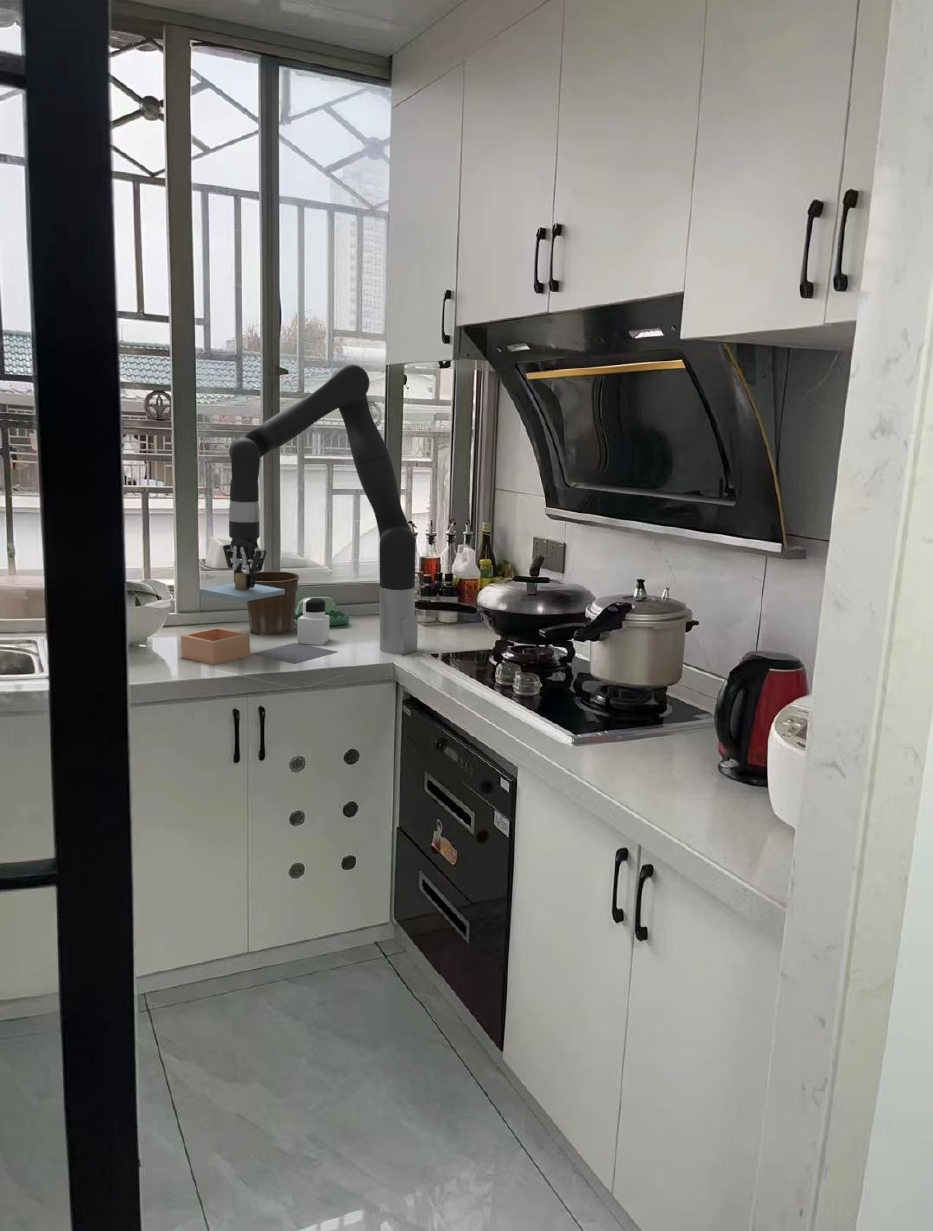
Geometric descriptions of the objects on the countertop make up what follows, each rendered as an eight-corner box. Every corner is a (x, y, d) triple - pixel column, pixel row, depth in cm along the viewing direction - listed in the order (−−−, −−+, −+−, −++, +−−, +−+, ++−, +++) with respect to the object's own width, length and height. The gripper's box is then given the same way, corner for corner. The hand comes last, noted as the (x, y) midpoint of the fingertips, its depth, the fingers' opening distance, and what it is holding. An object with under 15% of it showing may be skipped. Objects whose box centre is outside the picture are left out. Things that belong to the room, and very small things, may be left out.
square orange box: (250, 656, 249) (249, 633, 248) (213, 666, 239) (212, 642, 238) (218, 649, 255) (217, 627, 254) (181, 658, 246) (180, 635, 245)
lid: (284, 594, 248) (285, 574, 247) (241, 602, 235) (241, 580, 234) (242, 586, 255) (242, 566, 254) (198, 593, 243) (198, 573, 242)
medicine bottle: (329, 640, 268) (330, 597, 266) (322, 645, 261) (323, 601, 259) (304, 638, 268) (304, 596, 266) (296, 643, 261) (297, 600, 259)
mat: (338, 653, 254) (338, 651, 254) (295, 665, 241) (294, 663, 241) (294, 644, 263) (294, 642, 263) (250, 655, 250) (250, 653, 250)
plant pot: (295, 638, 270) (294, 581, 266) (237, 637, 270) (235, 580, 266) (304, 625, 285) (303, 571, 282) (250, 624, 285) (248, 570, 282)
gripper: (275, 521, 241) (274, 589, 245) (236, 515, 249) (236, 581, 253) (252, 523, 235) (252, 592, 239) (213, 517, 243) (214, 584, 247)
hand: (244, 586), depth 246 cm, fingers closed on lid, 3 cm apart
